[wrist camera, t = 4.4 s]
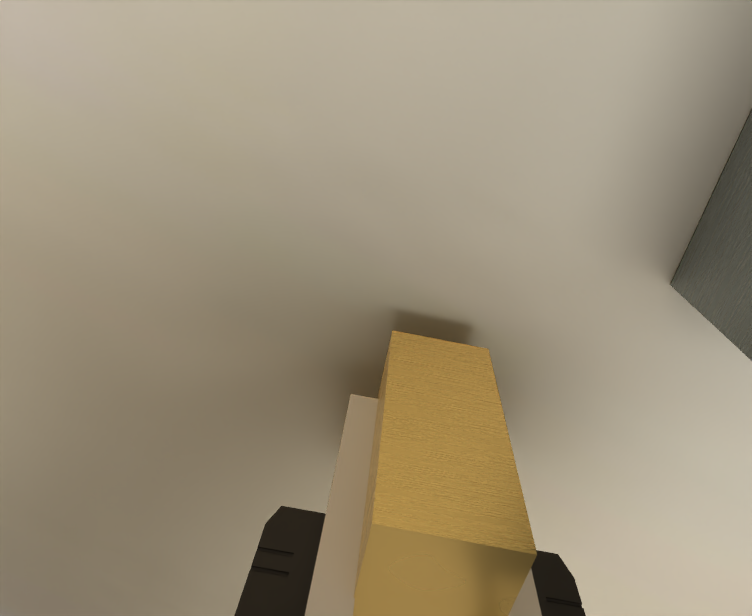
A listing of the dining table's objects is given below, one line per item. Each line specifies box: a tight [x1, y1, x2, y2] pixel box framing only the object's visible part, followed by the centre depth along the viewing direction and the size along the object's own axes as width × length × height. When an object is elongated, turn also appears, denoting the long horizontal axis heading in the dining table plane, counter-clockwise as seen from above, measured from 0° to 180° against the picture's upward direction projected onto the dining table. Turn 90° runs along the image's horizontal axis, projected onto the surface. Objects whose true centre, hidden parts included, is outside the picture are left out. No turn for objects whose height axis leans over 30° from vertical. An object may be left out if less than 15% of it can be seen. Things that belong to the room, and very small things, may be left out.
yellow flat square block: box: [353, 330, 537, 616], centre depth 11 cm, size 2×6×6 cm, turn 170°
